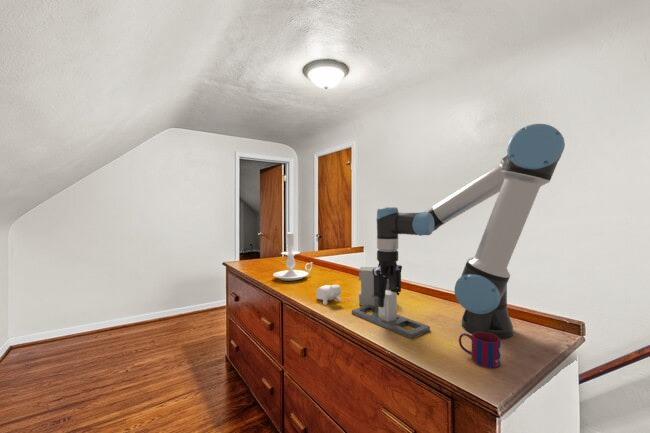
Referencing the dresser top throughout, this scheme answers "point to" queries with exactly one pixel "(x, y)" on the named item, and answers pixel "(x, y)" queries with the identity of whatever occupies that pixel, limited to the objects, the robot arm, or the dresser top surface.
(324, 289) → the white animal figurine
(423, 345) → the dresser top surface
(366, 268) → the circuit breaker
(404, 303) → the dresser top surface
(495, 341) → the mug
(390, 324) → the board with rectangular holes
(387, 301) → the peg
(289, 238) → the candlestick
